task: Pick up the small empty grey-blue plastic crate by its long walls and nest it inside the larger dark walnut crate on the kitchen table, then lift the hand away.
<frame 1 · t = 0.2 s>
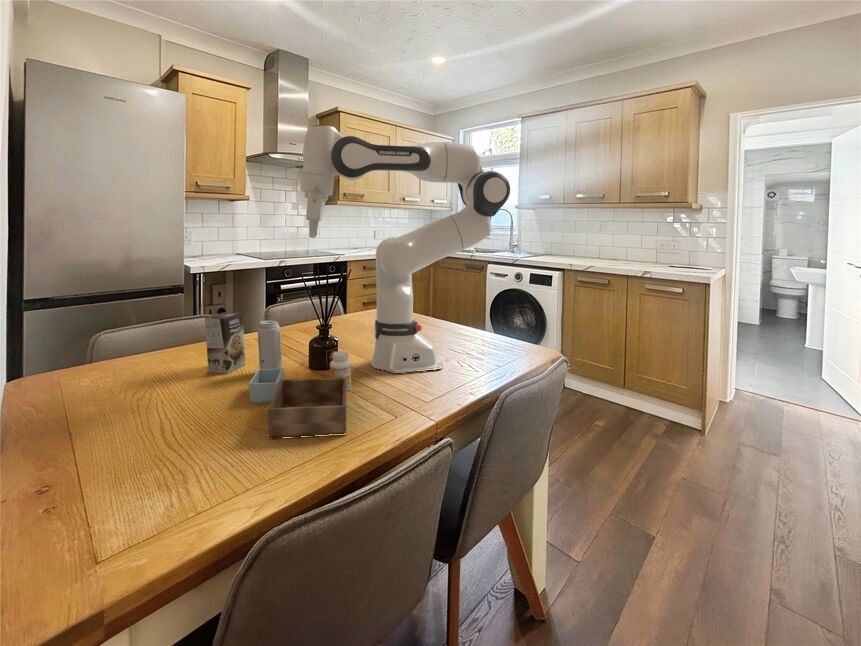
hand: (312, 236, 128), 39 cm above the table, tool pointing down, fingers open, 8 cm apart
energy drink can: (271, 373, 130), on the table
large crate: (311, 419, 101), on the table
small crate: (268, 394, 114), on the table
coffee box: (227, 369, 132), on the table
supplement bottle: (340, 388, 120), on the table
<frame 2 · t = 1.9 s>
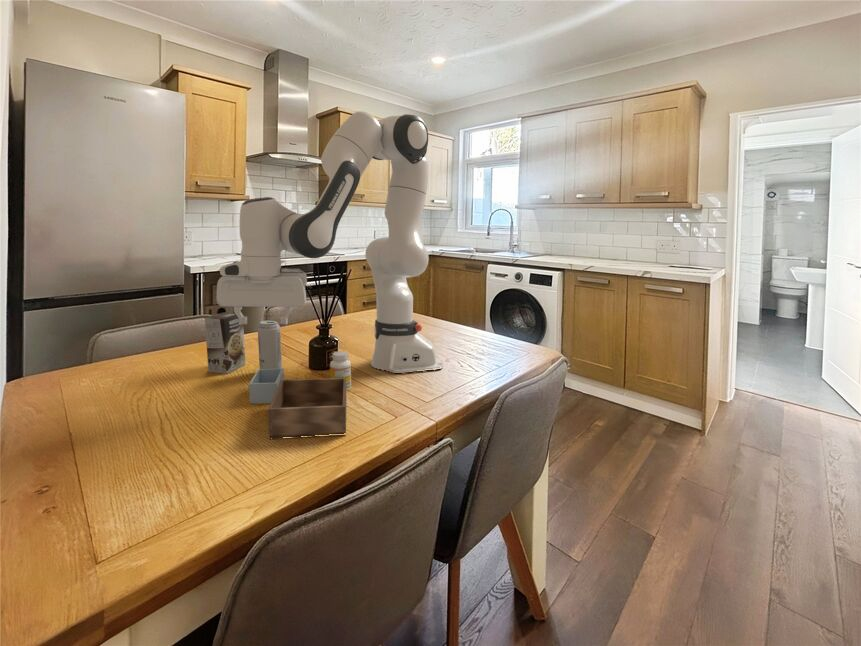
hand: (263, 324, 110), 18 cm above the table, tool pointing down, fingers open, 8 cm apart
nothing on the table moved.
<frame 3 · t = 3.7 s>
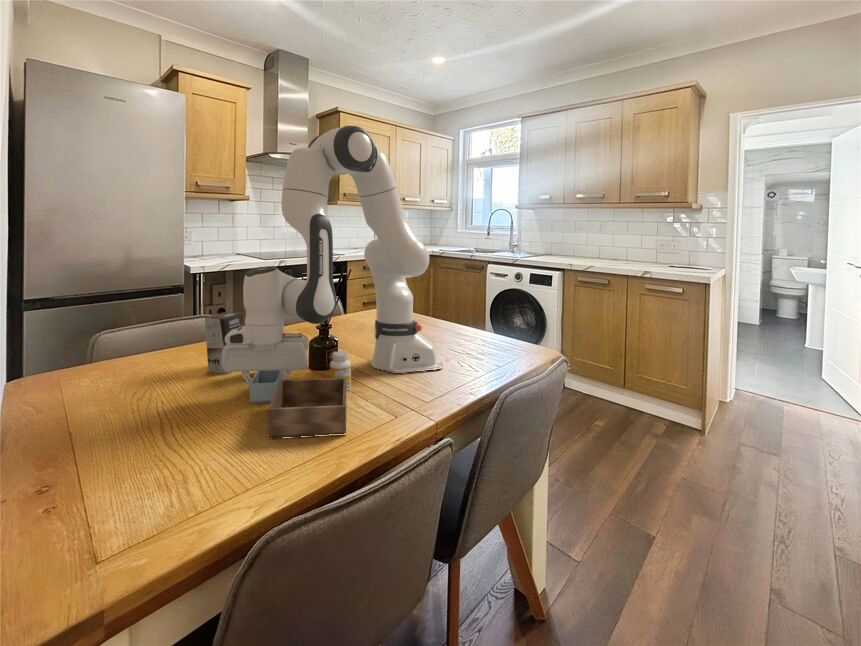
hand: (267, 386, 113), 2 cm above the table, tool pointing down, fingers closed on small crate, 6 cm apart
small crate: (268, 394, 114), on the table, touching gripper
everything else where it was.
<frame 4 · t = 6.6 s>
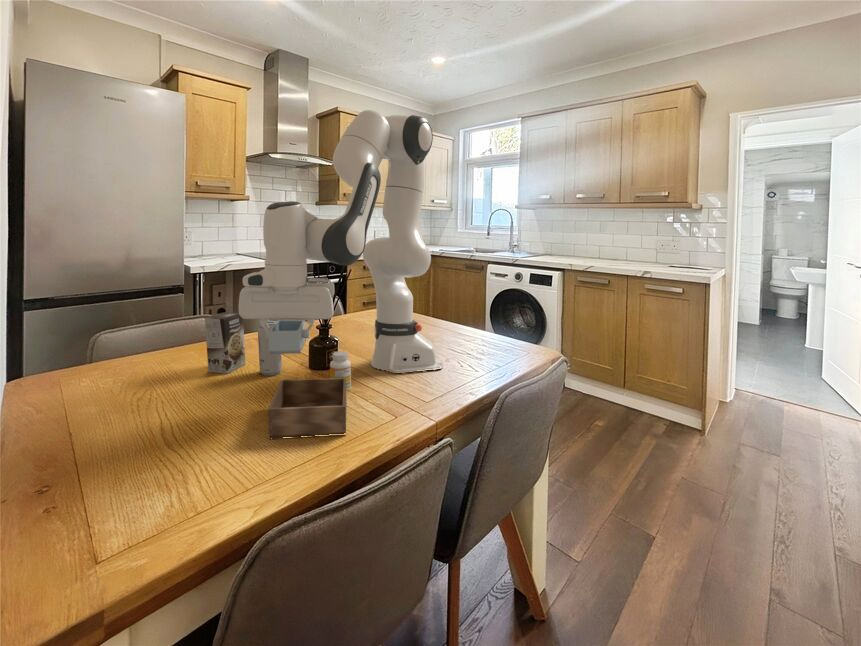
hand: (288, 337, 102), 17 cm above the table, tool pointing down, fingers closed on small crate, 6 cm apart
small crate: (288, 346, 103), point 15 cm above the table, touching gripper
everything else where it was.
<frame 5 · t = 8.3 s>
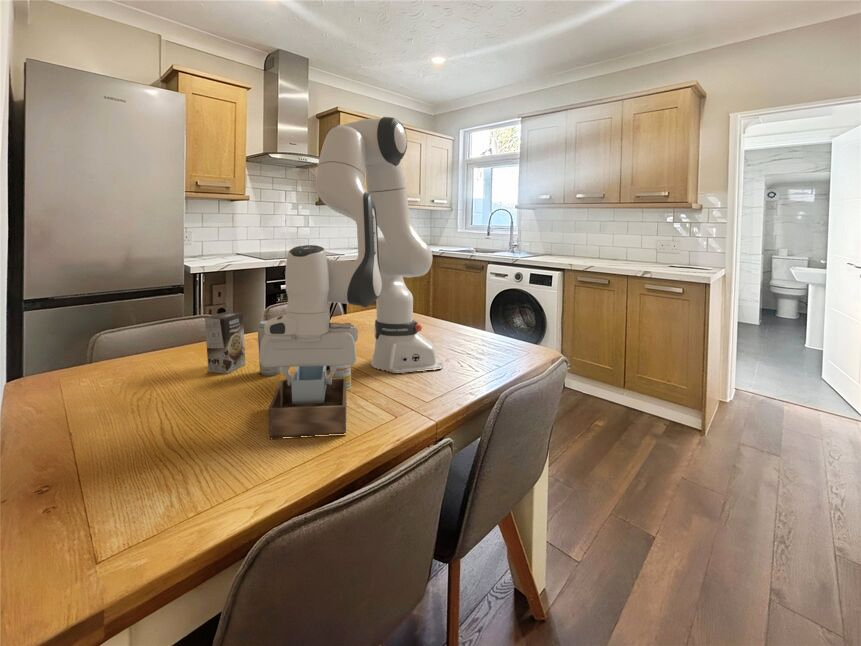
hand: (310, 384, 99), 8 cm above the table, tool pointing down, fingers closed on small crate, 6 cm apart
small crate: (310, 393, 99), point 6 cm above the table, touching gripper
everything else where it was.
when the fingers open (5 cm above the table, at t = 9.5 s): small crate drops 2 cm, resting on large crate.
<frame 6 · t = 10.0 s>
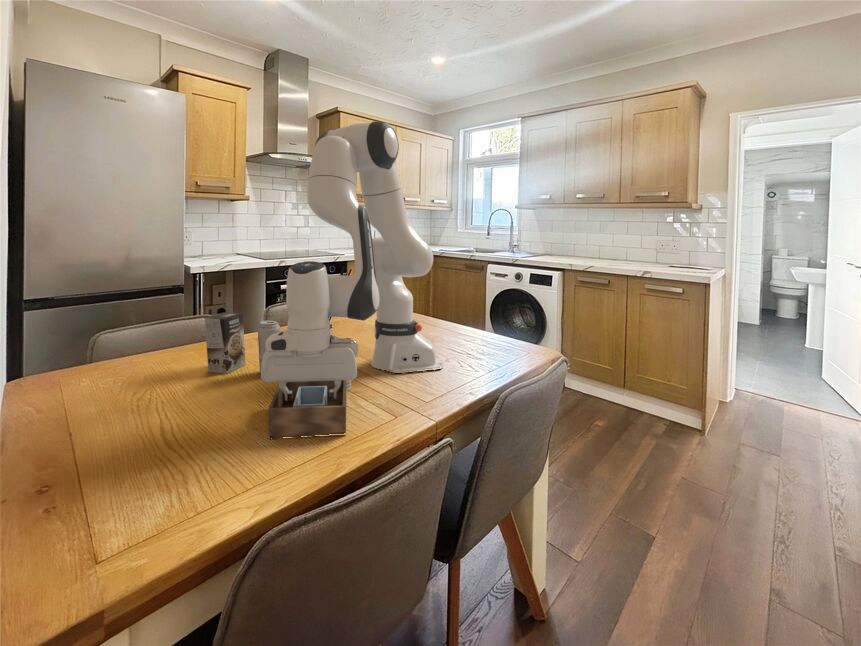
hand: (311, 399, 100), 5 cm above the table, tool pointing down, fingers open, 8 cm apart
small crate: (311, 416, 100), point 1 cm above the table, touching large crate
everything else where it was.
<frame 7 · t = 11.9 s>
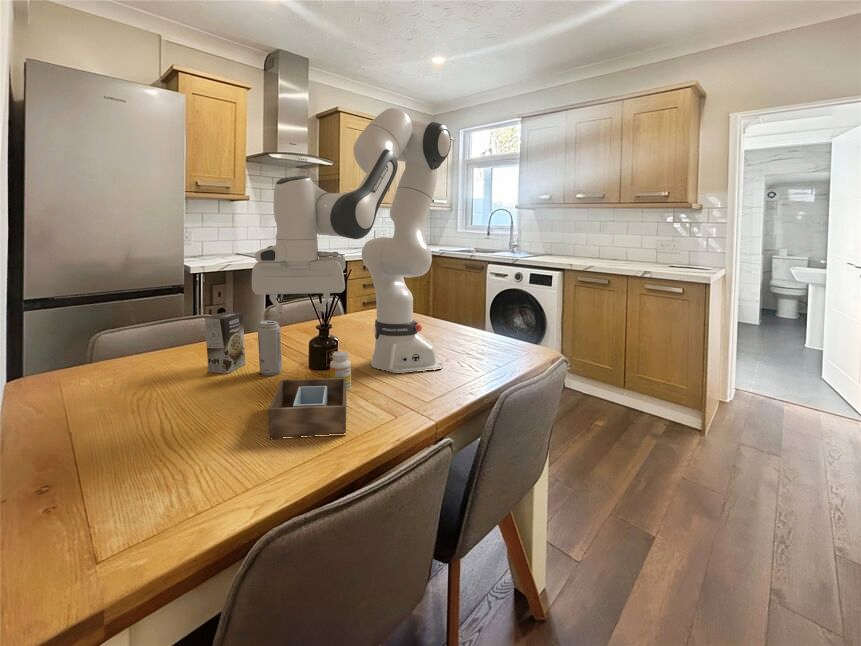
hand: (301, 312, 104), 23 cm above the table, tool pointing down, fingers open, 8 cm apart
nothing on the table moved.
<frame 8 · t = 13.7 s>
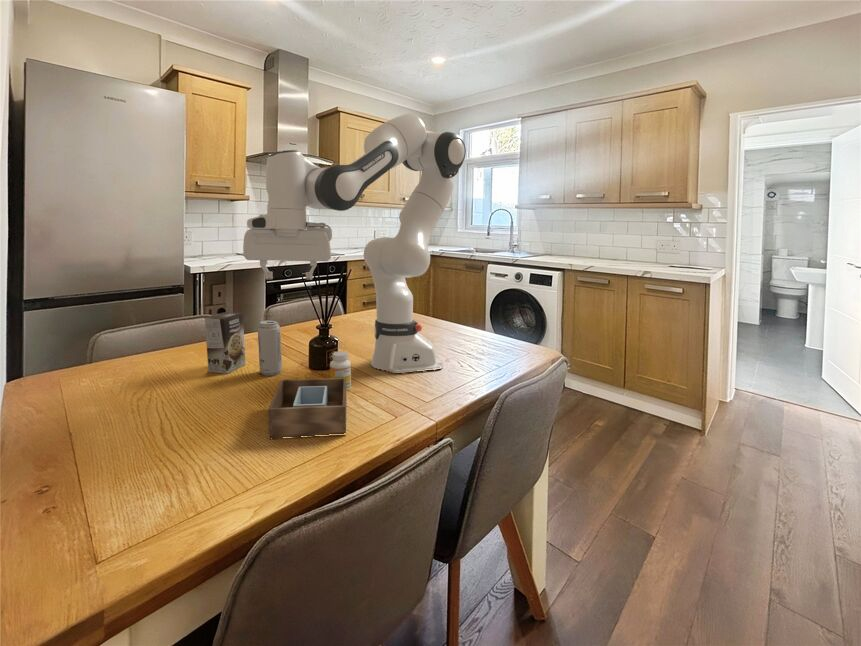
hand: (289, 279, 110), 29 cm above the table, tool pointing down, fingers open, 8 cm apart
nothing on the table moved.
at the end: small crate 0.0 cm off-centre on the large crate, point 0.8 cm above the large crate's base; small crate tilted 0°; the gripper is holding nothing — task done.
